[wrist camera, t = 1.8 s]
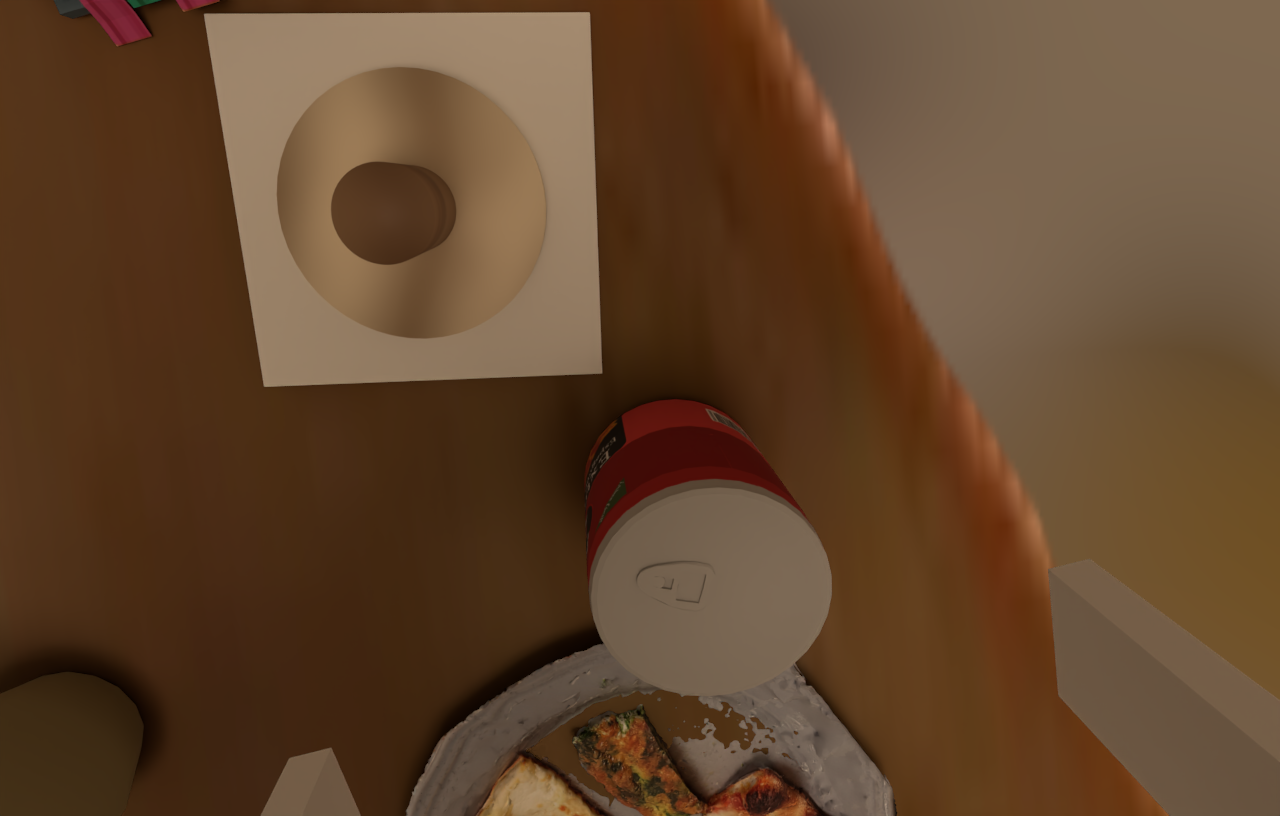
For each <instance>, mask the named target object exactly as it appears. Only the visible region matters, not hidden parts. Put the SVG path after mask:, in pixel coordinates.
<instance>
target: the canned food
mask: <svg viewBox="0 0 1280 816" xmlns="http://www.w3.org/2000/svg"><path fill="white" fill-rule="evenodd" d="M584 489H585V521H586V553H587V576H588V589H589V598H590V606H591V611H592V614H593V619H594V622H595V624H596V627H597V630H598V633H599V635H600V638H601V639H602V641H603V643H604V644H605V646H606V647H607V649H608V650H609V652H610V653H611V655H612V656H613V657H614V658H615V659H616V660H617V661H618V662H619V663H620V664H621V665H622V666H623V667H624V668H625V669H626V670H627V671H629V672H630V673H632V674H633V675H635V676H636V677H638V678H639V679H641V680H642V681H644V682H646V683H649V684H651V685H653V686H656V687H658V688H660V689H663V690H666V691H670V692H675V693H679V694H684V695H695V696H716V695H725V694H732V693H736V692H740V691H743V690H747V689H750V688H754V687H756V686H758V685H760V684H762V683H764V682H767V681H769V680H771V679H773V678H775V677H776V676H778V675H779V674H781V673H782V672H784V671H785V670H786V669H788V668H789V667H791V666H792V665H793V664H794V663H795V662H796V661H797V660H798V659H799V658H800V657H801V656H802V655H803V654H804V653H805V652H806V651H807V650H808V649H809V648H810V646H811V645H812V643H813V642H814V640H815V639H816V638H817V636H818V635H819V633H820V631H821V629H822V626H823V624H824V622H825V619H826V617H827V615H828V611H829V606H830V601H831V596H832V577H831V570H830V566H829V562H828V558H827V554H826V553H825V551H824V548H823V545H822V543H821V541H820V539H819V537H818V535H817V533H816V531H815V529H814V528H813V526H812V525H811V523H810V522H809V520H808V519H807V518H806V516H805V514H804V512H803V511H802V509H801V508H800V507H799V505H798V504H797V503H796V501H795V500H794V498H793V497H792V496H791V494H790V493H789V491H788V490H787V489H786V487H785V486H784V484H783V483H782V482H781V480H780V479H779V478H778V476H777V475H776V473H775V472H774V471H773V469H772V468H771V466H770V465H769V464H768V462H767V461H766V460H765V458H764V457H763V455H762V454H761V453H760V451H759V450H758V448H757V447H756V446H755V444H754V443H753V441H752V440H751V439H750V437H749V436H748V435H747V434H746V432H745V431H744V430H743V429H742V428H741V426H740V425H739V424H738V423H737V422H735V421H734V420H733V419H732V418H730V417H729V416H728V415H727V414H725V413H723V412H721V411H719V410H718V409H716V408H714V407H712V406H709V405H706V404H702V403H699V402H696V401H690V400H680V399H671V400H659V401H654V402H650V403H647V404H643V405H640V406H638V407H636V408H634V409H632V410H630V411H628V412H626V413H624V414H623V415H621V416H620V417H619V418H617V419H616V420H615V421H613V422H612V423H611V424H610V425H609V426H608V427H607V428H606V429H605V430H604V432H603V433H602V434H601V435H600V436H599V438H598V439H597V441H596V443H595V444H594V446H593V448H592V449H591V452H590V455H589V458H588V461H587V464H586V470H585V479H584Z"/></svg>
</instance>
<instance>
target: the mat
mask: <svg viewBox="0 0 1280 816" xmlns="http://www.w3.org/2000/svg"><path fill="white" fill-rule="evenodd" d="M204 18H205V24H206V30H207V36H208V43H209V49H210V55H211V61H212V67H213V73H214V80H215V86H216V92H217V98H218V104H219V111H220V117H221V123H222V129H223V135H224V142H225V148H226V154H227V160H228V166H229V172H230V179H231V185H232V191H233V197H234V203H235V210H236V216H237V222H238V228H239V234H240V240H241V247H242V253H243V259H244V265H245V271H246V278H247V284H248V290H249V296H250V302H251V309H252V315H253V321H254V327H255V333H256V339H257V346H258V352H259V358H260V364H261V370H262V377H263V383H264V387H272V386H297V385H322V384H348V383H373V382H399V381H424V380H450V379H475V378H500V377H526V376H551V375H577V374H602V351H601V322H600V293H599V263H598V234H597V205H596V176H595V147H594V118H593V89H592V60H591V31H590V12H553V13H287V14H204ZM393 67H407V68H420V69H425V70H430V71H435V72H438V73H441V74H444V75H447V76H450V77H453V78H455V79H457V80H459V81H461V82H463V83H465V84H467V85H469V86H471V87H473V88H474V89H476V90H477V91H479V92H480V93H482V94H483V95H485V96H486V97H488V98H489V99H490V100H491V101H492V102H493V103H495V104H496V105H497V106H498V107H499V108H500V109H501V110H502V111H503V112H504V113H505V114H506V115H507V116H508V117H509V118H510V120H511V121H512V122H513V123H514V124H515V125H516V126H517V128H518V129H519V131H520V132H521V134H522V135H523V136H524V138H525V139H526V141H527V143H528V145H529V147H530V149H531V150H532V152H533V154H534V156H535V159H536V162H537V164H538V167H539V169H540V172H541V176H542V180H543V184H544V188H545V197H546V228H545V235H544V240H543V244H542V247H541V251H540V255H539V257H538V259H537V262H536V264H535V266H534V269H533V271H532V273H531V275H530V276H529V278H528V280H527V281H526V283H525V285H524V286H523V288H522V289H521V290H520V291H519V293H518V294H517V295H516V296H515V298H514V299H513V300H512V301H511V302H510V303H509V304H508V305H507V306H506V307H504V308H503V309H502V310H501V311H500V312H499V313H497V314H496V315H494V316H493V317H492V318H490V319H489V320H487V321H485V322H483V323H482V324H480V325H478V326H476V327H474V328H471V329H469V330H466V331H463V332H461V333H458V334H453V335H449V336H445V337H438V338H427V339H422V338H405V337H399V336H393V335H389V334H385V333H382V332H378V331H375V330H373V329H370V328H368V327H366V326H363V325H361V324H359V323H357V322H355V321H354V320H352V319H350V318H348V317H347V316H345V315H343V314H342V313H341V312H339V311H338V310H337V309H335V308H334V307H333V306H331V305H330V304H329V303H328V302H327V301H326V300H325V299H324V298H323V297H322V296H320V295H319V294H318V293H317V292H316V290H315V289H314V288H313V287H312V286H311V284H310V283H309V282H308V281H307V280H306V278H305V277H304V275H303V274H302V272H301V271H300V269H299V268H298V266H297V265H296V263H295V261H294V259H293V257H292V255H291V253H290V251H289V249H288V247H287V244H286V241H285V238H284V235H283V232H282V229H281V224H280V219H279V215H278V206H277V176H278V171H279V166H280V160H281V157H282V154H283V151H284V148H285V145H286V142H287V140H288V138H289V136H290V134H291V132H292V130H293V128H294V126H295V125H296V123H297V122H298V120H299V119H300V118H301V116H302V115H303V113H304V112H305V111H306V110H307V109H308V108H309V107H310V105H311V104H312V103H313V102H314V101H315V100H316V99H317V98H318V97H320V96H321V95H322V94H324V93H325V92H326V91H327V90H329V89H330V88H331V87H333V86H335V85H337V84H338V83H340V82H342V81H344V80H346V79H348V78H350V77H353V76H356V75H358V74H361V73H363V72H368V71H372V70H377V69H381V68H393Z"/></svg>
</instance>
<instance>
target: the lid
mask: <svg viewBox="0 0 1280 816" xmlns="http://www.w3.org/2000/svg"><path fill="white" fill-rule="evenodd" d="M277 206H278V215H279V219H280V224H281V229H282V232H283V235H284V238H285V241H286V244H287V247H288V249H289V251H290V253H291V255H292V257H293V259H294V261H295V263H296V265H297V266H298V268H299V269H300V271H301V272H302V274H303V275H304V277H305V278H306V280H307V281H308V282H309V283H310V284H311V286H312V287H313V288H314V289H315V290H316V292H317V293H318V294H319V295H320V296H322V297H323V298H324V299H325V300H326V301H327V302H328V303H329V304H330V305H331V306H333V307H334V308H335V309H337V310H338V311H339V312H341V313H342V314H343V315H345V316H347V317H348V318H350V319H352V320H354V321H355V322H357V323H359V324H361V325H363V326H366V327H368V328H370V329H373V330H375V331H378V332H382V333H385V334H389V335H393V336H399V337H405V338H422V339H427V338H438V337H445V336H449V335H453V334H458V333H461V332H463V331H466V330H469V329H471V328H474V327H476V326H478V325H480V324H482V323H483V322H485V321H487V320H489V319H490V318H492V317H493V316H494V315H496V314H497V313H499V312H500V311H501V310H502V309H503V308H504V307H506V306H507V305H508V304H509V303H510V302H511V301H512V300H513V299H514V298H515V296H516V295H517V294H518V293H519V291H520V290H521V289H522V288H523V286H524V285H525V283H526V281H527V280H528V278H529V276H530V275H531V273H532V271H533V269H534V266H535V264H536V262H537V259H538V257H539V255H540V251H541V247H542V244H543V240H544V235H545V228H546V197H545V188H544V184H543V180H542V176H541V172H540V169H539V167H538V164H537V162H536V159H535V156H534V154H533V152H532V150H531V149H530V147H529V145H528V143H527V141H526V139H525V138H524V136H523V135H522V134H521V132H520V131H519V129H518V128H517V126H516V125H515V124H514V123H513V122H512V121H511V120H510V118H509V117H508V116H507V115H506V114H505V113H504V112H503V111H502V110H501V109H500V108H499V107H498V106H497V105H496V104H495V103H493V102H492V101H491V100H490V99H489V98H488V97H486V96H485V95H483V94H482V93H480V92H479V91H477V90H476V89H474V88H473V87H471V86H469V85H467V84H465V83H463V82H461V81H459V80H457V79H455V78H453V77H450V76H447V75H444V74H441V73H438V72H435V71H430V70H425V69H420V68H407V67H393V68H381V69H377V70H372V71H368V72H363V73H361V74H358V75H356V76H353V77H350V78H348V79H346V80H344V81H342V82H340V83H338V84H337V85H335V86H333V87H331V88H330V89H329V90H327V91H326V92H325V93H324V94H322V95H321V96H320V97H318V98H317V99H316V100H315V101H314V102H313V103H312V104H311V105H310V107H309V108H308V109H307V110H306V111H305V112H304V113H303V115H302V116H301V118H300V119H299V120H298V122H297V123H296V125H295V126H294V128H293V130H292V132H291V134H290V136H289V138H288V140H287V142H286V145H285V148H284V151H283V154H282V157H281V160H280V166H279V171H278V176H277Z"/></svg>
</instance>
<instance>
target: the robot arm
mask: <svg viewBox="0 0 1280 816" xmlns="http://www.w3.org/2000/svg"><path fill="white" fill-rule="evenodd" d="M1048 573H1049V585H1050V597H1051V610H1052V622H1053V634H1054V647H1055V659H1056V671H1057V684H1058V696H1059V697H1060V698H1061V699H1062V700H1063V701H1064V702H1065V703H1066V704H1067V705H1068V706H1069V708H1070V709H1071V710H1072V711H1073V712H1074V713H1075V714H1076V715H1077V716H1078V717H1079V718H1080V719H1081V721H1082V722H1083V723H1084V724H1085V725H1086V726H1087V727H1088V728H1089V729H1090V730H1091V731H1092V732H1093V733H1094V735H1095V736H1096V737H1097V738H1098V739H1099V740H1100V741H1101V742H1102V743H1103V744H1104V745H1105V746H1106V747H1107V749H1108V750H1109V751H1110V752H1111V753H1112V754H1113V755H1114V756H1115V757H1116V758H1117V759H1118V760H1119V761H1120V763H1121V764H1122V765H1123V766H1124V767H1125V768H1126V769H1127V770H1128V771H1129V772H1130V773H1131V774H1132V775H1133V777H1134V778H1135V779H1136V780H1137V781H1138V782H1139V783H1140V784H1141V785H1142V786H1143V787H1144V788H1145V790H1146V791H1147V792H1148V793H1149V794H1150V795H1151V796H1152V797H1153V798H1154V799H1155V800H1156V801H1157V802H1158V804H1159V805H1160V806H1161V807H1162V808H1163V809H1164V810H1165V811H1166V812H1167V813H1168V814H1169V815H1170V816H1280V700H1279V699H1277V698H1276V697H1274V696H1273V695H1272V694H1270V693H1269V692H1268V691H1266V690H1265V689H1264V688H1262V687H1261V686H1260V685H1258V684H1257V683H1256V682H1254V681H1253V680H1252V679H1250V678H1249V677H1248V676H1246V675H1245V674H1244V673H1242V672H1241V671H1240V670H1238V669H1237V668H1236V667H1234V666H1233V665H1231V664H1230V663H1229V662H1227V661H1226V660H1225V659H1223V658H1222V657H1221V656H1219V655H1218V654H1217V653H1215V652H1214V651H1213V650H1211V649H1210V648H1209V647H1207V646H1206V645H1205V644H1203V643H1202V642H1201V641H1199V640H1198V639H1197V638H1195V637H1194V636H1192V635H1191V634H1190V633H1189V632H1187V631H1186V630H1184V629H1183V628H1182V627H1180V626H1179V625H1178V624H1176V623H1175V622H1174V621H1172V620H1171V619H1170V618H1168V617H1167V616H1166V615H1164V614H1163V613H1161V612H1160V611H1159V610H1158V609H1156V608H1155V607H1154V606H1152V605H1151V604H1150V603H1148V602H1147V601H1146V600H1144V599H1143V598H1142V597H1140V596H1139V595H1138V594H1136V593H1135V592H1134V591H1132V590H1130V589H1129V588H1128V587H1127V586H1126V585H1124V584H1123V583H1121V582H1120V581H1119V580H1117V579H1116V578H1115V577H1113V576H1112V575H1111V574H1109V573H1108V572H1107V571H1105V570H1104V569H1103V568H1101V567H1100V566H1099V565H1097V564H1096V563H1095V562H1093V561H1092V560H1091V559H1087V560H1083V561H1079V562H1075V563H1071V564H1067V565H1063V566H1059V567H1055V568H1051V569H1048ZM261 816H361V815H360V813H359V810H358V808H357V806H356V804H355V801H354V799H353V797H352V794H351V792H350V790H349V787H348V785H347V783H346V780H345V778H344V776H343V773H342V771H341V769H340V767H339V764H338V762H337V760H336V757H335V755H334V753H333V750H332V748H328V749H324V750H320V751H316V752H312V753H308V754H304V755H300V756H296V757H292V758H289V760H288V762H287V764H286V766H285V768H284V770H283V772H282V774H281V776H280V778H279V780H278V782H277V784H276V786H275V788H274V790H273V792H272V794H271V796H270V798H269V800H268V802H267V804H266V806H265V808H264V810H263V812H262V814H261Z"/></svg>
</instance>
